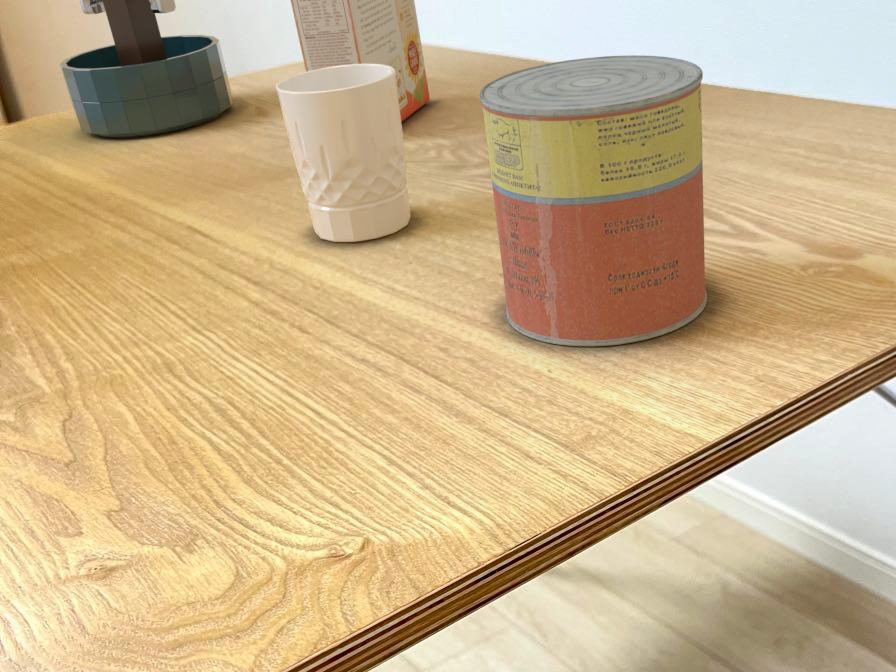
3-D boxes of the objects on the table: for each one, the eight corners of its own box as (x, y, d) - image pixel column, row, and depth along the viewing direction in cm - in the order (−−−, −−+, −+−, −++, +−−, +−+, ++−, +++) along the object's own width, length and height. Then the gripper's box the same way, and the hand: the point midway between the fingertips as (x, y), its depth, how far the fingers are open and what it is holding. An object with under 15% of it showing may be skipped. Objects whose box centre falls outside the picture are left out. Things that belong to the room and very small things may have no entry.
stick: (135, 117, 115) (91, -37, 107) (157, 108, 117) (116, -43, 110) (158, 117, 114) (115, -38, 106) (180, 109, 116) (140, -44, 108)
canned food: (694, 259, 69) (689, 46, 62) (719, 335, 59) (716, 95, 53) (508, 277, 69) (483, 68, 63) (504, 355, 60) (474, 120, 53)
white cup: (319, 213, 84) (289, 70, 78) (425, 204, 83) (402, 58, 78) (296, 250, 77) (262, 97, 72) (411, 241, 77) (385, 85, 71)
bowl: (49, 137, 114) (26, 68, 110) (158, 98, 125) (141, 34, 121) (158, 143, 107) (138, 70, 104) (264, 102, 118) (249, 34, 114)
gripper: (-21, -142, 105) (31, 20, 113) (137, -160, 96) (182, 18, 104) (34, -149, 110) (80, 7, 117) (190, -166, 100) (229, 4, 108)
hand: (129, 12), depth 110 cm, fingers open, 8 cm apart
